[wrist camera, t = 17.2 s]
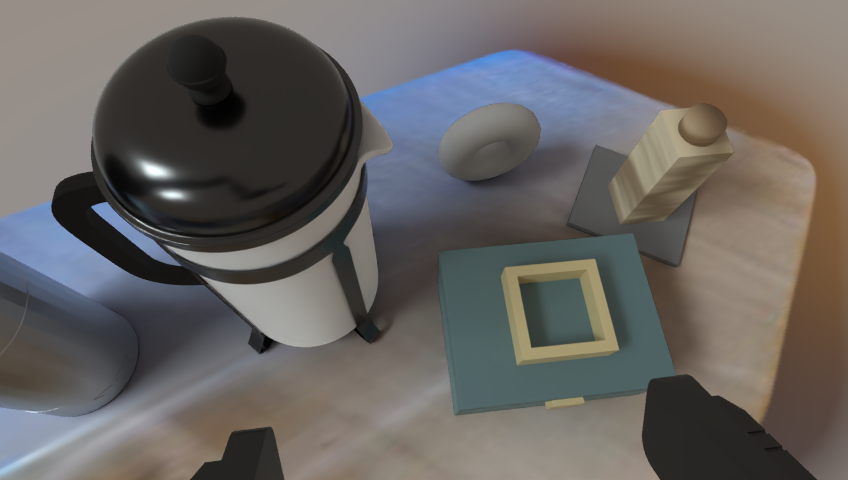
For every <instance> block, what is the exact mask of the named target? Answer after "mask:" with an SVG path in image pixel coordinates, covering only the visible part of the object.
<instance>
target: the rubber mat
mask: <svg viewBox="0 0 848 480" xmlns="http://www.w3.org/2000/svg"><path fill="white" fill-rule="evenodd" d="M627 158H628V157H627V156H624V155H621V154H619V153H616V152H613V151H610V150H608V149H605V148H602V147H599V146H597V145H596V146H595V148H594V150H593V153H592V156H591V159H590V161H589V164H588V167H587V170H586V173H585V175H584V178H583V181H582V184H581V187H580V189H579V192H578V195H577V198H576V201H575V203H574V206H573V209H572V212H571V215H570V217H569V220H568V223H567V225H568V226H571V227H573V228H576V229H578V230H581V231H584V232H586V233H589V234H591V235H594V236H596V237H599V236H610V235H621V234H632V233H633V235H634V238H635V242H636V245H637V248H638V251H639V253H640V254H643V255H645V256H648V257H650V258H653V259H655V260H658V261H661V262H663V263H666V264H668V265H671V266H673V267H677V266H678V265H679V262H680V258H681V253H682V249H683V245H684V241H685V237H686V233H687V229H688V225H689V221H690V217H691V213H692V208H693V204H694V200H695V196H696V192H697V189H696V190H695V191H694V192H693V193H692V194H691V195H690V196H689V197H688V198H687V199H686V200H685V201H684V202H683V203H682V204H680V205H679V206H678V207H677V208H676V209H675V210H674V211H673V212H672V213H671V214H670V215H669V216H668V217H667V218H666V219H665V220H664V221H657V222H647V223H637V224H627V225H620V224H619V221H618V217H617V214H616V211H615V208H614V204H613V201H612V198H611V195H610V191H609V188H608V185H609V183H610V182H611V180H612V179H613V178H614V176H615V175H616V173H617V172H618V171H619V169H620V168H621V166H622V165H623V164H624V162H625V161H626V159H627Z"/></svg>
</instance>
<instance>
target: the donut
mask: <svg viewBox="0 0 848 480" xmlns="http://www.w3.org/2000/svg"><path fill="white" fill-rule="evenodd" d="M540 130H541V128H540V124H539V122H538V120H537V118H536V116H535V114H534V113H533V112H532V111H530V110H528V109H527V108H525V107H523V106H522V105H518V104H511V103H497V104H490V105H487V106H484V107H481V108H477V109H475V110H473V111H471V112H469V113H468V114H466V115H464V116H462V117H461V118H460V119H458V120H457V121H456V122H454V123H453V124H452V125H451V126H450V128H449V129H448V130H447V131H446V133H445V134H444V135H443V137H442V139H441V142H440V145H439V148H438V154H439V160H440V164H441V166H442V168H443V169H444V170H445V171H446V172H447V173H448V174H449V175H451V176H452V177H455V178H458V179H461V180H465V181H477V180H484V179H489V178H492V177H496V176H499V175H501V174H503V173H506V172H508V171H510V170H512V169H513V168H515V167H516V166H518V165H519V164H521V163H523V162H524V161H525V160H526V159H527V158H528V157H529V156H530V155H531V154H532V152H533V151H534V149H535V148H536V146H537V144H538V143H539V137H540Z"/></svg>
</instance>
